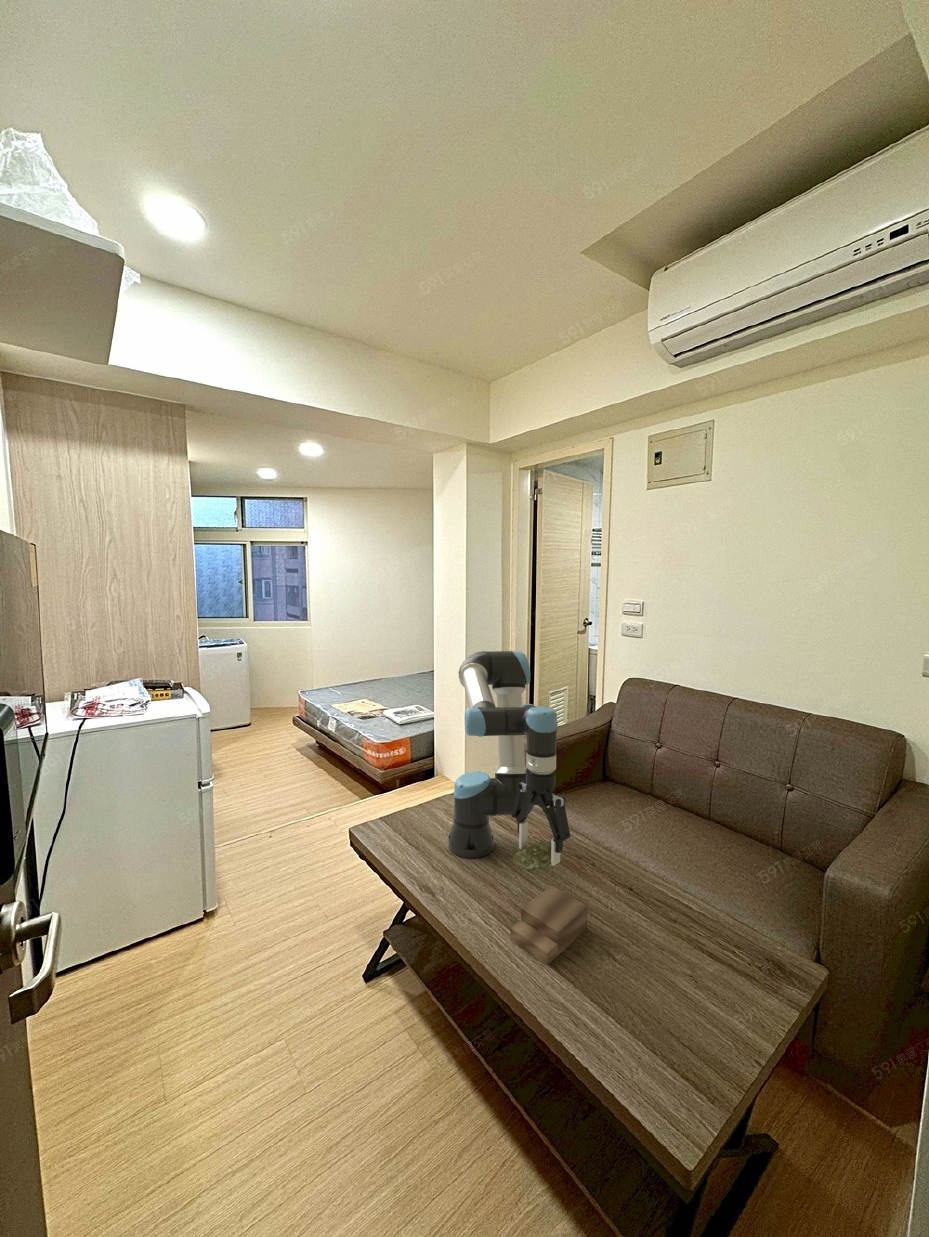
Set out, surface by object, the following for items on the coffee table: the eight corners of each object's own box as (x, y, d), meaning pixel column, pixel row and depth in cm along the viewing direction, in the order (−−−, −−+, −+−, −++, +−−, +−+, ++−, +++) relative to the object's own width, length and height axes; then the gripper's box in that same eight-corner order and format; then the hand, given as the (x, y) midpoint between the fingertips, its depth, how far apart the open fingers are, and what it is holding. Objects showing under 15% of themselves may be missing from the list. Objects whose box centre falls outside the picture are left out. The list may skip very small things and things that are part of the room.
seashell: (505, 853, 124) (529, 821, 126) (519, 864, 128) (542, 833, 130) (531, 879, 115) (556, 844, 118) (545, 890, 119) (569, 856, 122)
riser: (510, 939, 118) (510, 916, 117) (551, 906, 129) (551, 885, 129) (547, 965, 110) (547, 941, 109) (586, 928, 122) (587, 905, 121)
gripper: (498, 760, 127) (497, 842, 128) (569, 786, 111) (566, 880, 112) (517, 754, 132) (515, 833, 134) (587, 778, 116) (584, 867, 117)
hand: (538, 854), depth 123 cm, fingers closed on seashell, 10 cm apart
